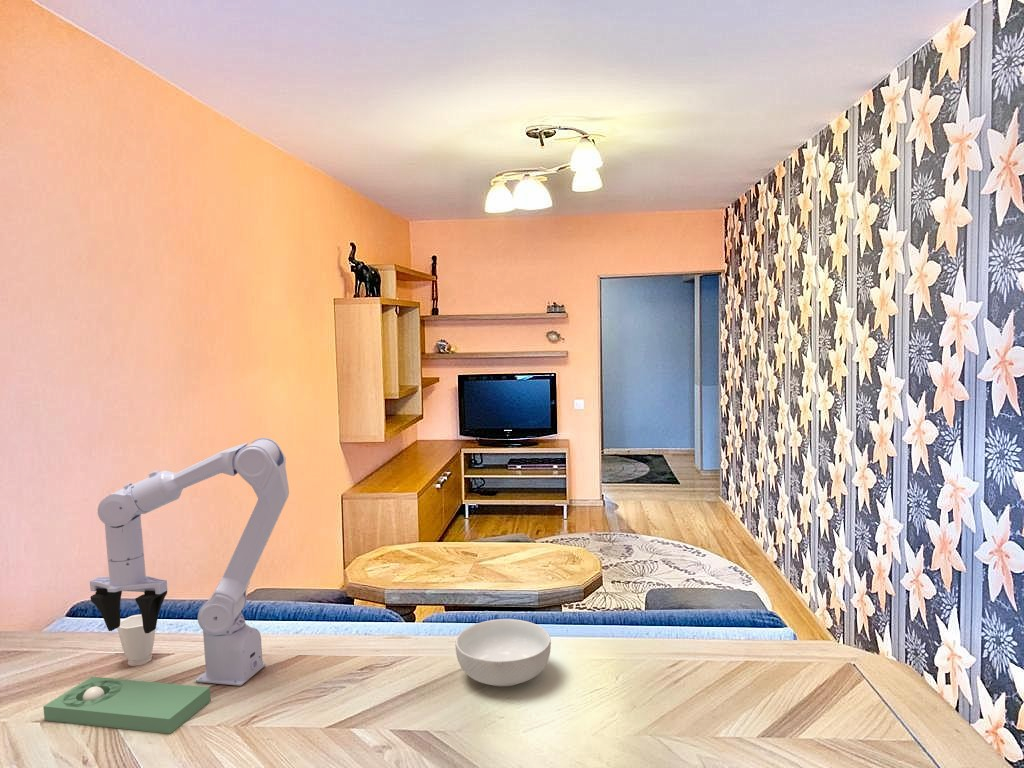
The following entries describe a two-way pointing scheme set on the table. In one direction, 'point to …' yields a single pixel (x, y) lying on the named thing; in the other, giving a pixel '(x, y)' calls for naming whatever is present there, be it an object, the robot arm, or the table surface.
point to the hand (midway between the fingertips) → (132, 629)
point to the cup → (136, 640)
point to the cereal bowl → (503, 651)
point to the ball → (93, 693)
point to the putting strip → (129, 705)
